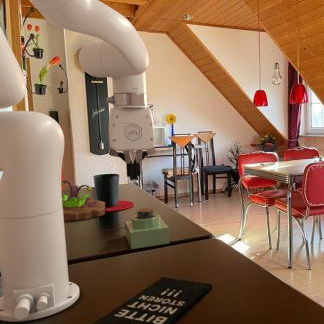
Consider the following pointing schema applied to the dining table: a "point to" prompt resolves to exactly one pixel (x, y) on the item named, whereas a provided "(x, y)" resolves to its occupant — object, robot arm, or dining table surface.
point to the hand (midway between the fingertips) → (133, 179)
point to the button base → (146, 232)
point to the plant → (80, 205)
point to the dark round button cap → (145, 213)
